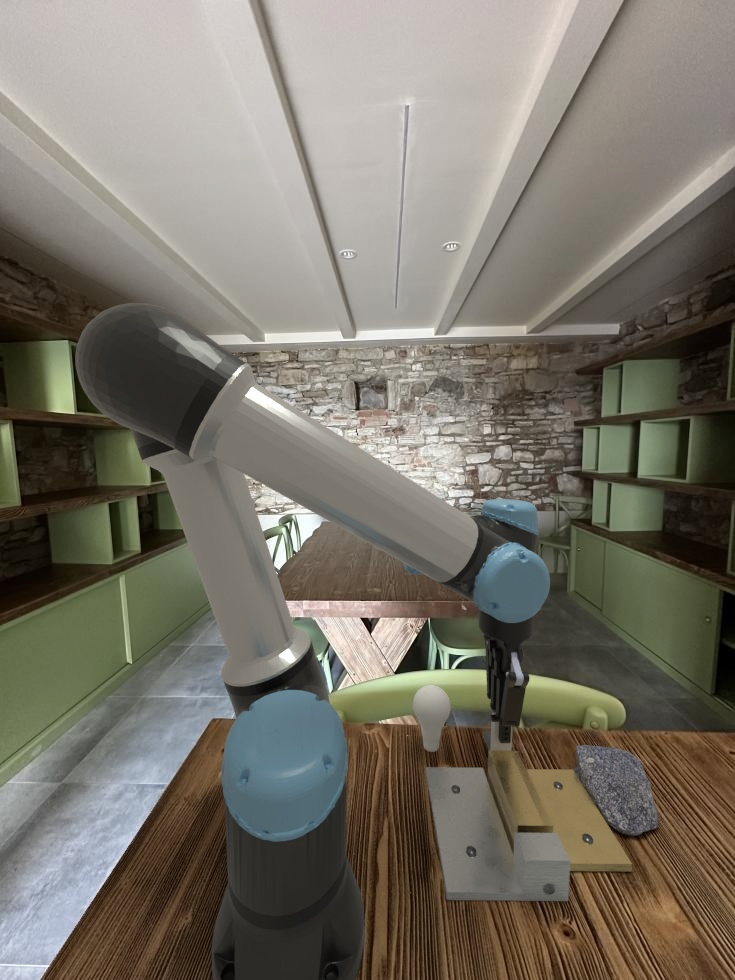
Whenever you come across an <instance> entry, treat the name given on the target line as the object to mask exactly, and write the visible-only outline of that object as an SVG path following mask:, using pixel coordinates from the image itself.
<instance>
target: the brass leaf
mask: <svg viewBox="0 0 735 980" xmlns="http://www.w3.org/2000/svg"><path fill="white" fill-rule="evenodd" d="M487 750H488V749H487ZM487 753H488V754H487V755H488V756H487V757H488V758H487V781H488V784H489V787H490V790H491V793H492V795H493V798H494V801H495V804H496V807H497V810H498V813H499V815H500V818H501V821H502V824H503V827H504V830H505V833H506V835H507V838H508V841H509V844H510V847H511V850H512V853H513V855H514V833H557V834H558V836H559V838H560V840H561V842H562V844H563V846H564V848H565V850H566V852H567V855H568V857H569V859H570V872H630V873H631V872H632V871H633V863H632V861H631V860H630V858H629V857H628V855H627V853H626V852H625V850H624V849H623V847H622V845H621V843H620V841H618V839H617V837H616V835H615V834H614V833H613V831H612V830H611V827H610V826H609V824H608V823H607V822H606V821H605V820H604V818H603V817H602V814H601V812H600V809H598V808H597V807H596V805H595V804H594V802H593V801H592V799H591V797H590V796H589V794H588V793H587V791H586V789H585V788H584V786H583V785H582V783H581V781H580V780H579V778H578V777H577V775H576V774H575V770H574V769H562V768H561V769H559V768H558V769H557V768H556V769H553V768H552V769H551V768H550V769H549V768H548V769H545V768H544V769H541V768H540V769H539V768H538V769H535V768H533V769H531V768H529V769H528V768H526V766H525V764H524V762H523V760H522V757H521V756H520V753H519V751H518V750H512V751H501V750H488V751H487Z"/></svg>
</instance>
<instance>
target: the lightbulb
mask: <svg viewBox="0 0 735 980" xmlns="http://www.w3.org/2000/svg"><path fill="white" fill-rule="evenodd" d="M412 709H413V713H414V715H415V717H416V719H417V721H418V722H419V725H420V730H421V736H422V744H423V748H424V750H426V751H427V752H430V753H434V752H437V751H438V750H439V747H440V746H439V745H440V739H441V737H442V729H443V727H444V725H445V723H447V720H448V719H449V717H450V715H451V701H450V698H449V695H448V694H447V693H446V691H444V689H443V688H441V687H439V686H438V685H433V684H427V685H424V686H421V687H420V688H419V689H418V690H417V691H416V693H415V695H414V697H413V700H412Z"/></svg>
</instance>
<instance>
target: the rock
mask: <svg viewBox="0 0 735 980" xmlns="http://www.w3.org/2000/svg"><path fill="white" fill-rule="evenodd" d="M575 759H576V764H577V765H576V766H574V769H573V770H574V772H575V774H576V775H577V777H578V778H579V780H580V781H581V783H582V785H583V786H584V788H585V789H586V791H587V793H588V794H589V796H590V797H591V799H592V801H593V802H594V804H595V805H596V807H597V809H598V810H599V812H600V813H601V815H602V817H603V818H604V820H605V821H606V823H607V825H608V826H609V825H610V826H611V827H612V828H613V829H615V830H616V831H617V832H619V833H621V834H623V835H628V836H633V837H634V836H639V835H641V834H644V833H643V832H645V833H646V832H649V831H651V830H656V829H657V828H658V825H659V824H658V822H659V814H658V811H657V806H656V803H655V798H654V796H653V793H652V786H651V781H650V780H649V779H648V777H647V775H646V772H645V768H644V766H643V763H642V761H641V760H640V759H639V758H638V756H637V757H636V756H635V755H634V754H632V753H631V752H629V751H628V750H624V749H619V748H616V747H612V746H611V747H610V746H609V747H605V746H599V745H597V746H595V745H588V744H583V745H576V746H575Z"/></svg>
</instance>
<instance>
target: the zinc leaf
mask: <svg viewBox="0 0 735 980" xmlns="http://www.w3.org/2000/svg"><path fill="white" fill-rule="evenodd" d="M482 736H483V739H484V742H485V745H486V746H487V747H486V748H487V750H490V745H491V731H490V730H485V731H483V733H482ZM425 778H426V779H425V780H426V783H427V784H426V785H427V788H428V796H429V801H430V806H431V808H430V809H431V814H432V820H433V825H434V831H435V837H436V843H437V849H438V855H439V862H440V867H441V872H442V880H443V885H444V890H445V897H446V901H492V902H493V901H495V902H496V901H500V902H503V901H504V902H505V901H506V902H508V901H509V902H511V901H513V902H514V901H515V902H517V901H519V902H520V901H521V902H569V896H570V894H569V893H570V891H569V890H570V875H571V873H570V872H571V871H570V859H569V857H568V855H567V852H566V850H565V848H564V846H563V844H562V842H561V840H560V838H559V836H558V834H557V833H514V855H513V852H512V849H511V846H510V843H509V840H508V838H507V835H506V832H505V829H504V826H503V823H502V820H501V818H500V815H499V812H498V809H497V806H496V803H495V800H494V798H493V795H492V792H491V789H490V786H489V783H488V777H487V776H486V773H485V769H484V768H483V767H445V766H444V767H440V766H439V767H437V766H436V767H433V766H432V767H431V766H429V767H428V766H426V767H425Z"/></svg>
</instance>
